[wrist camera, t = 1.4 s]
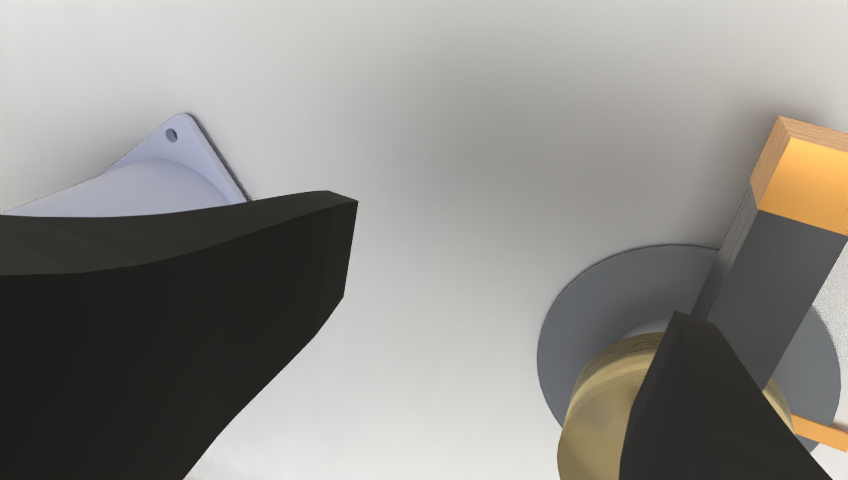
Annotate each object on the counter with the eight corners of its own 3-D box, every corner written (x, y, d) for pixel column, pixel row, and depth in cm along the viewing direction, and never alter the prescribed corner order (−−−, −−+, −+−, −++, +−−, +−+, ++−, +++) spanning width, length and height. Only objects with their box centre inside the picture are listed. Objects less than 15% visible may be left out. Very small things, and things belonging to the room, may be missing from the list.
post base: (613, 505, 24) (606, 556, 22) (492, 305, 23) (473, 340, 21) (888, 449, 20) (911, 507, 18) (759, 196, 18) (768, 227, 16)
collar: (738, 533, 20) (744, 601, 18) (547, 454, 21) (532, 508, 19) (968, 164, 14) (1017, 200, 12) (688, 90, 15) (687, 111, 13)
